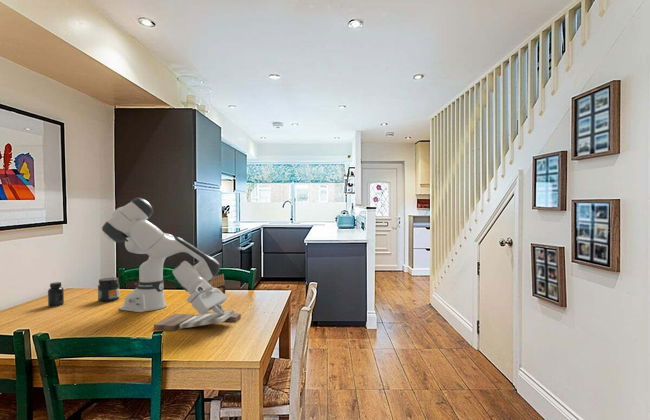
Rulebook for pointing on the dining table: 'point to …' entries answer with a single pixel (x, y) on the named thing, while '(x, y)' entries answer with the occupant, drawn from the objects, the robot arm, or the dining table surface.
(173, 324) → the walnut boards
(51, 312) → the dining table surface
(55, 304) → the supplement bottle
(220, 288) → the ammunition clip
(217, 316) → the ash plank
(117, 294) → the supplement container
